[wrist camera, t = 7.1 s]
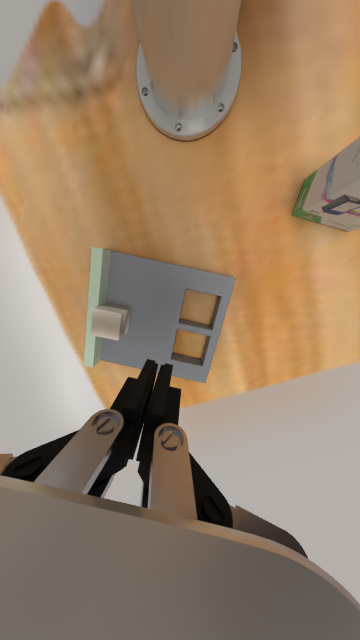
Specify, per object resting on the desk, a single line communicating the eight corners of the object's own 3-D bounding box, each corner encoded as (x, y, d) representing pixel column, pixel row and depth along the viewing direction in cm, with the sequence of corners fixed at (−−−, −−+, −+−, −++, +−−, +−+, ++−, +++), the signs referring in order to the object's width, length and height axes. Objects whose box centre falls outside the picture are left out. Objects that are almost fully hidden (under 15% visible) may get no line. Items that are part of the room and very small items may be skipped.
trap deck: (104, 249, 28) (87, 245, 24) (232, 277, 28) (240, 278, 24) (96, 351, 33) (79, 364, 29) (204, 375, 33) (206, 392, 28)
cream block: (106, 302, 28) (92, 307, 24) (131, 307, 28) (121, 313, 24) (104, 326, 29) (90, 334, 25) (128, 331, 29) (118, 340, 25)
